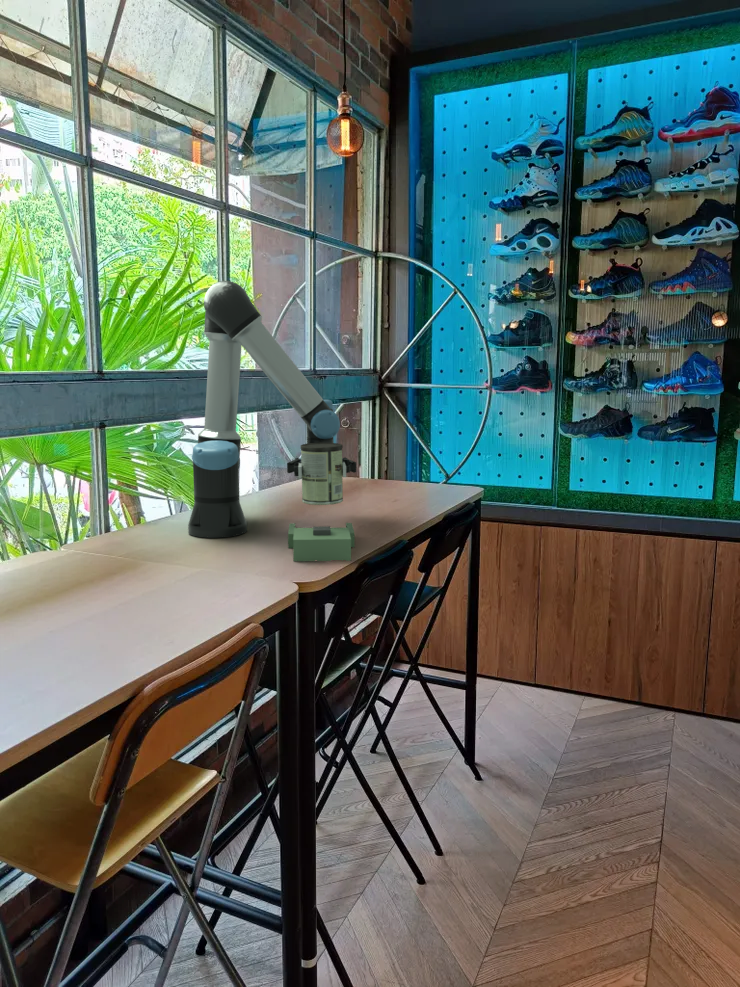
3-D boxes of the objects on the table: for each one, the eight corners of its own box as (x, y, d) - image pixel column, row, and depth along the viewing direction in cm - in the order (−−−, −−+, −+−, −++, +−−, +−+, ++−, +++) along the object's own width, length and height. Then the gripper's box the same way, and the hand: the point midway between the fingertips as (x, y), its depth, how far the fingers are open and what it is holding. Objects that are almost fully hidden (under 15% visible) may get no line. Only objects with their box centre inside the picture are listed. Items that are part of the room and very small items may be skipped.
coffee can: (305, 497, 189) (304, 442, 187) (345, 497, 188) (345, 442, 186) (297, 504, 179) (296, 446, 177) (339, 505, 178) (339, 447, 175)
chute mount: (286, 561, 166) (286, 534, 165) (289, 536, 190) (289, 513, 189) (357, 560, 168) (357, 533, 167) (351, 536, 191) (351, 512, 190)
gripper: (362, 473, 201) (369, 486, 180) (279, 474, 200) (275, 488, 178) (362, 445, 200) (369, 456, 178) (278, 446, 198) (274, 457, 176)
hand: (322, 472), depth 178 cm, fingers closed on coffee can, 10 cm apart
